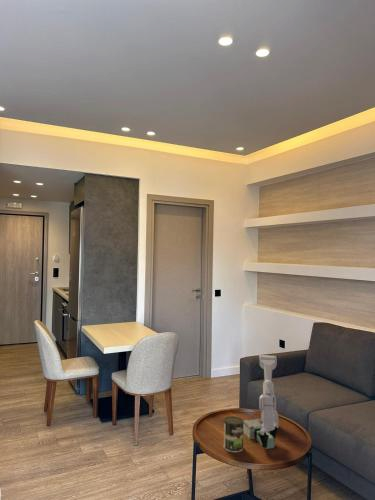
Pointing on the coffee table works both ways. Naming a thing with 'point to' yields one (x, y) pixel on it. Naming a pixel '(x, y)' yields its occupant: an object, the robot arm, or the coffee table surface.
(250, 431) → the housing
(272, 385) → the robot arm
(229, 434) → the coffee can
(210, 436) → the coffee table surface
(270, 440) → the end cover
